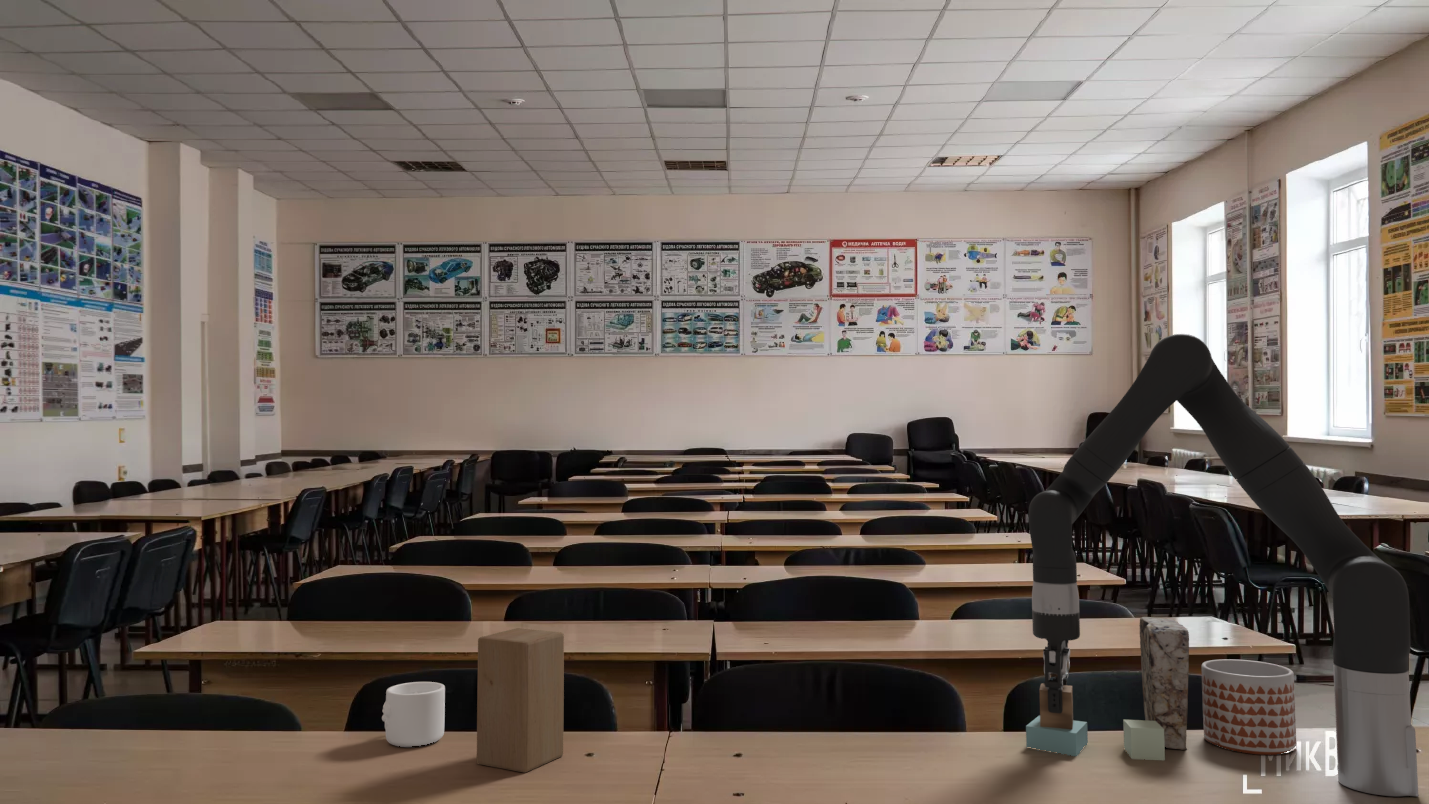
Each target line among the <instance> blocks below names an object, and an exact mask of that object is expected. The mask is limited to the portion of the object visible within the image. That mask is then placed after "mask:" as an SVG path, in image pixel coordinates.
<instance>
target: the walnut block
mask: <svg viewBox="0 0 1429 804" xmlns="http://www.w3.org/2000/svg"><path fill="white" fill-rule="evenodd" d="M1073 694H1074V693H1073V685H1068V684H1067V685H1063V689H1062V703H1063V711H1062V713H1051V712H1049V711H1048V689H1047V688H1046V687H1045V685H1044V682H1043V683H1040V686H1039V716H1040V727H1050V728H1061V729H1071V730H1072V729H1073V720H1074V698H1073Z"/></svg>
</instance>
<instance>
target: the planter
mask: <svg viewBox="0 0 1429 804" xmlns="http://www.w3.org/2000/svg"><path fill="white" fill-rule="evenodd" d="M1294 674H1295V673H1294V671H1293V670H1292V669H1290V668H1288V667H1286V666H1282V665H1281V664H1279V665H1278V664H1274V663H1269V662H1265V661H1257V660H1249V659H1248V660H1247V659H1230V658H1229V659H1222V658H1221V659H1212V660H1206V661H1204V662H1202V664H1201V691H1202V692H1201V693H1202V718H1203V738H1204V740H1206V741H1207V742H1208V743H1209V742H1210V743H1209V744H1211V743H1212V744H1211V745H1213V744H1214V745H1213V746H1215V745H1218V746H1220V747H1223V748H1226V749H1225V750H1227V749H1229V750H1228V751H1231V750H1233V751H1232V752H1235V751H1237V752H1236V753H1241V752H1242V754H1246V755H1247V754H1248V755H1249V754H1250V755H1259V756H1278V755H1277V754H1281V753H1284V752H1287V751H1290V750H1291V749H1293V748H1294V747H1295V746H1296V747H1297V723H1296V720H1297V719H1296V699H1295V698H1296V697H1295V675H1294ZM1220 747H1219V748H1220ZM1223 748H1222V749H1223Z"/></svg>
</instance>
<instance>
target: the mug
mask: <svg viewBox="0 0 1429 804" xmlns="http://www.w3.org/2000/svg"><path fill="white" fill-rule="evenodd" d="M385 694H386V695H385V702H384V704H383V706H382V713H383V714H382V716H381V720H382V722H384V729H385V740H386V742H388V743H389V744H390V745H393V746H395V747H399V746H400V748H413V747H412V746H419V747H422V746H421V745H425V746H428V745H427V744H429V745H431V744H430V743H432V744H434V743H436V742H437V741H440V740H441V739H442V738H443V737H444V734H445V717H446V715H445V714H446V713H445V712H446V708H445V707H446V705H445V703H446V686H445V685H444V684H443V683H440V682H436V681H435V682H434V681H433V682H432V681H413V682H412V681H411V682H405V683H398V684H396V685H392V686H390V687H388V688H387V689H386V692H385ZM433 742H434V743H433Z"/></svg>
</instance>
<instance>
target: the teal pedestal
mask: <svg viewBox="0 0 1429 804" xmlns="http://www.w3.org/2000/svg"><path fill="white" fill-rule="evenodd" d="M1088 734H1089V733H1088V722H1087V721H1081V720H1074V719H1073V729H1072V730H1071V729H1061V728H1050V727H1040V715H1038V716H1037V717H1035V718H1034V719H1033V720H1031V721H1030V722H1029V723H1028V724H1026V725H1025V736H1026V737H1025V738H1026V739H1025V742H1026V748H1027V747H1031V748H1036V749H1040V750H1046V751H1051V752H1057V753H1056V754H1058V753H1061V754H1060V755H1064V754H1067V755H1066V756H1070V755H1071V757H1078V756H1079V754H1081V752H1082V751H1083V750H1084V749H1083V747H1084V746H1085V745H1087V743H1088V744H1089V740H1088ZM1087 746H1088V745H1087ZM1082 749H1083V750H1082ZM1081 750H1082V751H1081ZM1080 751H1081V752H1080ZM1051 752H1050V753H1051Z"/></svg>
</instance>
